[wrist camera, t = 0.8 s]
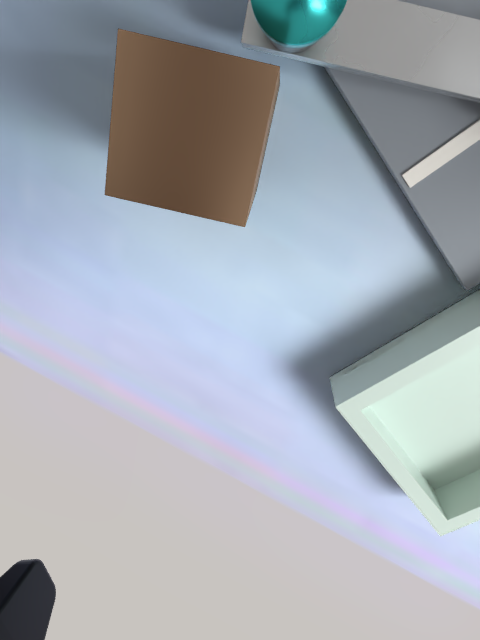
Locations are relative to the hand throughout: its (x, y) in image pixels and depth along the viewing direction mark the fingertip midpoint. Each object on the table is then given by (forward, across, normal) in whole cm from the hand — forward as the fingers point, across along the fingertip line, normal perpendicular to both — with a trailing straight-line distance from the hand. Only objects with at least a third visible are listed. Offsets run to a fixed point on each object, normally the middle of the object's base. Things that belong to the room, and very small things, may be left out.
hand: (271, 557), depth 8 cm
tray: (+14, -8, +7) cm, 17 cm away
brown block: (+14, +1, -7) cm, 16 cm away
